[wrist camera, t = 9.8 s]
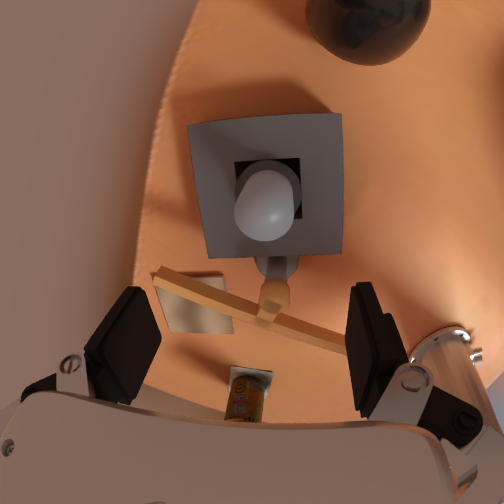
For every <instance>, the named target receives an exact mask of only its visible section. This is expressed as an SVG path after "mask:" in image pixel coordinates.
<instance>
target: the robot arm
mask: <svg viewBox="0 0 504 504" xmlns="http://www.w3.org/2000/svg"><path fill="white" fill-rule="evenodd" d="M161 340H162V337H161V333H160V330H159V328H158V325H157V323H156V320H155V317H154V315H153V312H152V309H151V307H150V304H149V301H148V298H147V295H146V293H145V291H144V290H142V288H141V287H137V286H129V287H127V288H126V289H125V290H124V292H123V293H122V294H121V296H120V297H119V298H118V300H117V301H116V303H115V304H114V305H113V307H112V308H111V309H110V311H109V312H108V314H107V315H106V316H105V318H104V319H103V321H102V322H101V323H100V325H99V326H98V328H97V329H96V331H95V332H94V334H93V335H92V336H91V338H90V339H89V341H88V342H87V344H86V345H85V347H84V350H85V353H84V355H83V354H82V353H80V352H71V353H68V354H66V355H65V356H63V357H62V358H61V359H60V361H59V362H58V364H57V372H56V373H55V374H52V375H50V376H48V377H46V378H44V379H41V380H39V381H37V382H35V383H33V384H31V385H29V386H28V387H26V388H25V390H24V391H23V393H22V396H21V400H20V399H17V400H15V401H14V402H12V403H11V404H10V405H8V406H6V407H5V408H3V409H2V410H0V504H501V503H502V502H504V434H503V432H502V429H501V427H500V424H499V422H498V419H497V417H496V414H495V412H494V409H493V407H492V404H491V402H490V399H489V397H488V394H487V392H486V390H485V387H484V385H483V383H482V380H481V378H480V376H479V374H478V372H477V370H476V367H475V365H478V364H481V363H482V356H481V354H482V348H481V347H480V348H475V349H471V347H470V337H469V335H468V333H467V331H466V330H465V329H463V328H462V327H458V326H452V327H446V328H443V329H440V330H438V331H436V332H434V333H432V334H431V335H429V336H428V337H426V338H425V339H423V340H422V341H421V342H420V343H419V344H418V345H417V346H416V347H415V348H414V350H413V351H412V353H411V354H410V356H409V359H408V357H407V354H406V351H405V348H404V345H403V343H402V340H401V337H400V334H399V332H398V329H397V326H396V324H395V321H394V319H393V316H392V315H391V314H390V313H385V314H383V312H382V309H381V307H380V304H379V301H378V299H377V296H376V293H375V291H374V288H373V286H372V283H371V282H357V283H356V286H352V287H351V294H350V302H349V310H348V318H347V326H346V333H345V346H346V352H347V357H348V364H349V370H350V376H351V383H352V390H353V397H354V404H355V410H356V411H358V410H360V414H361V418H363V417H367V419H368V420H367V421H348V422H330V423H250V422H234V421H221V420H211V419H202V418H193V417H186V416H179V415H172V414H166V413H160V412H155V411H149V410H144V409H139V408H134V407H130V406H124V405H120V404H117V403H118V401H119V403H122V404H126V405H130V404H131V402H132V400H133V399H135V398H136V396H137V394H138V392H139V390H140V387H141V385H142V383H143V381H144V378H145V376H146V374H147V372H148V369H149V367H150V365H151V363H152V361H153V358H154V356H155V354H156V352H157V350H158V348H159V345H160V343H161ZM450 467H451V468H450Z"/></svg>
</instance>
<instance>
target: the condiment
mask: <svg viewBox="0 0 504 504" xmlns="http://www.w3.org/2000/svg"><path fill="white" fill-rule="evenodd" d="M242 374H243V375H242ZM273 374H274V373H271V372H267V371H260V370H255V369H250V368H241V367H234V366H231V368H230V379H229V389H228V393H230V394H229V399H228V403H227V409H226V414H225V419H224V421H234V422H250V423H261V420H262V411H263V403H264V398H267V395H268V391H269V388H270V385H271V381H272V378H273Z"/></svg>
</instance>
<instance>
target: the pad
mask: <svg viewBox="0 0 504 504" xmlns="http://www.w3.org/2000/svg"><path fill="white" fill-rule="evenodd" d="M186 276H188V277H190V278H192V279H195V280H197V281H200V282H202V283H205V284H207V285H210V286H212V287H215V288H217V289H220V290H222V291H225V292H226V286H225V280H224V275H186ZM153 280H154V277H153ZM155 287H156V291H157V294H158V297H159V300H160V303H161V306H162V309H163V312H164V314H165V317H166V320H167V323H168V326H169V329H170V331H171V332H183V333H205V334H233V333H234V329H233V324H232V319H231V316H229V315H226V314H223V313H221V312H218V311H216V310H213V309H211V308H208V307H206V306H203V305H201V304H198V303H196V302H193V301H191V300H188V299H186V298H183V297H181V296H179V295H176V294H174V293H171V292H169V291H167V290H164V289H162V288H160V287H157V286H155Z"/></svg>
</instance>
